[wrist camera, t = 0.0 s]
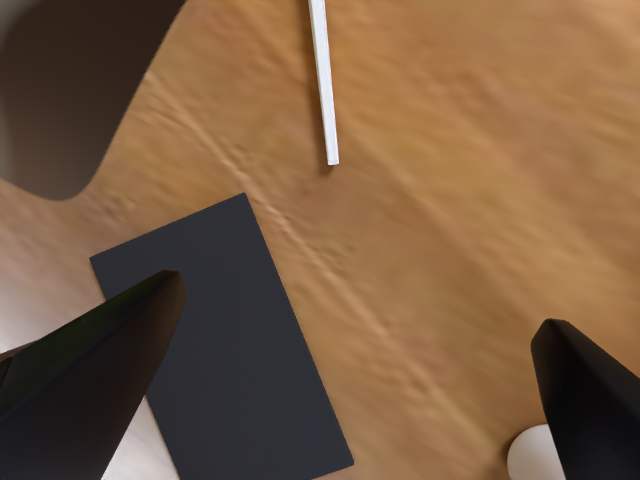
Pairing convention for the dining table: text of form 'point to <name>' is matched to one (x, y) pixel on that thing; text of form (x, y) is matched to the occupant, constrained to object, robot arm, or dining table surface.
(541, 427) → the drinking glass
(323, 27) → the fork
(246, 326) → the mat
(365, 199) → the dining table surface
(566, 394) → the robot arm
